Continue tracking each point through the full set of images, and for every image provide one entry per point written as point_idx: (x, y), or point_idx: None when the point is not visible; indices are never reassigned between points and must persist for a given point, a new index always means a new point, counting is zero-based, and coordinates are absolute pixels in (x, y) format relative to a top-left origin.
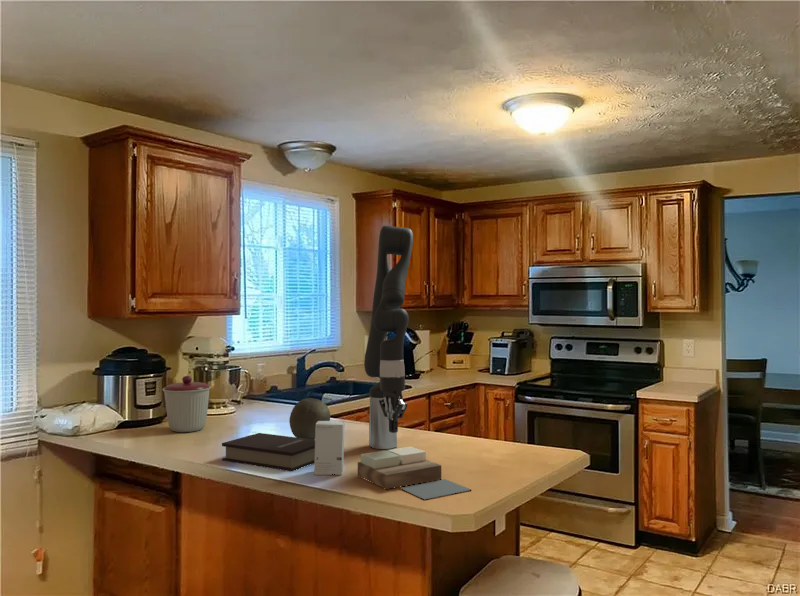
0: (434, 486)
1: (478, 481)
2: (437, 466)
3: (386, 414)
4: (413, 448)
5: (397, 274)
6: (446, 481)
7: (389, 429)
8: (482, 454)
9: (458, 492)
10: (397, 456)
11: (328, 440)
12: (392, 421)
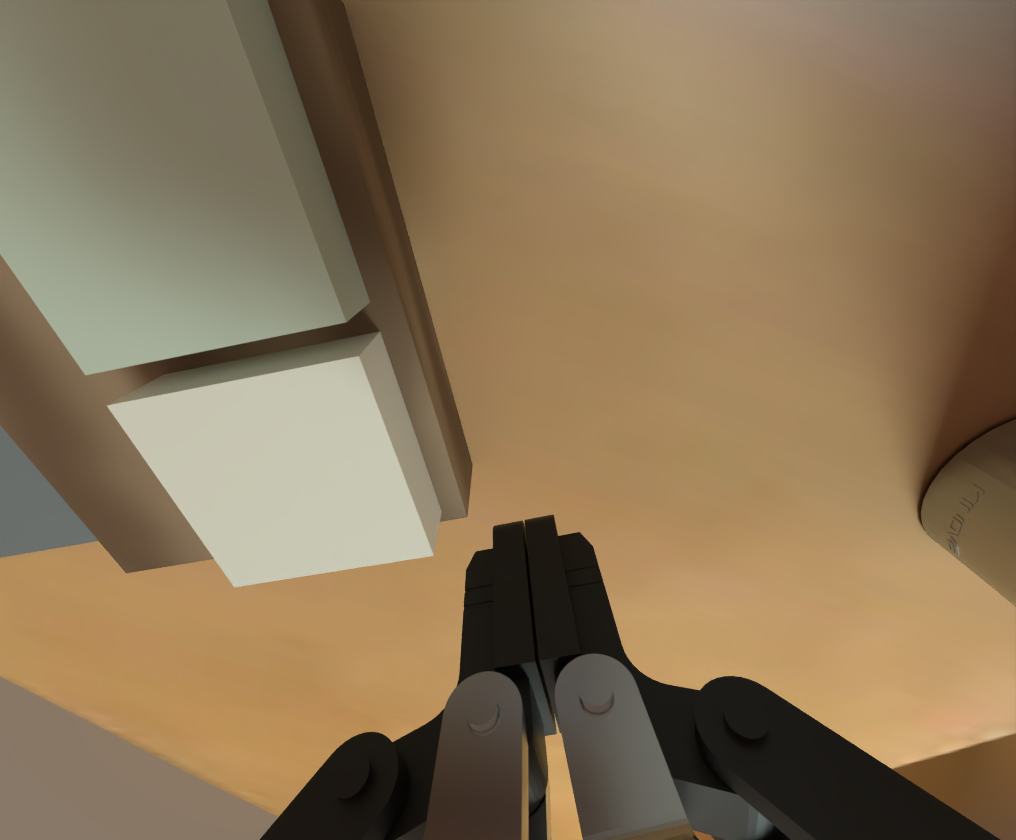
0: (6, 439)
1: (143, 623)
2: (109, 549)
3: (707, 750)
4: (360, 551)
5: None
6: None
7: (544, 534)
8: (558, 747)
9: None
10: (72, 354)
11: None
12: (500, 666)
